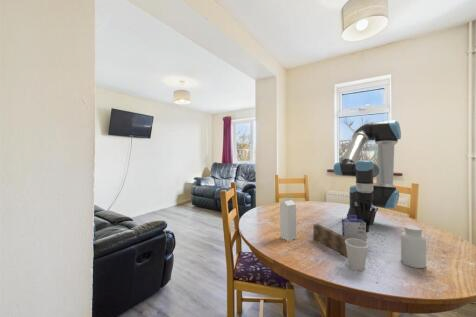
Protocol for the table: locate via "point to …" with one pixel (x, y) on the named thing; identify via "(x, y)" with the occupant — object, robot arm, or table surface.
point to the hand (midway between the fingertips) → (364, 237)
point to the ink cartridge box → (354, 228)
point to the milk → (288, 219)
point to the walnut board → (330, 239)
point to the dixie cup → (356, 253)
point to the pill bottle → (413, 247)
